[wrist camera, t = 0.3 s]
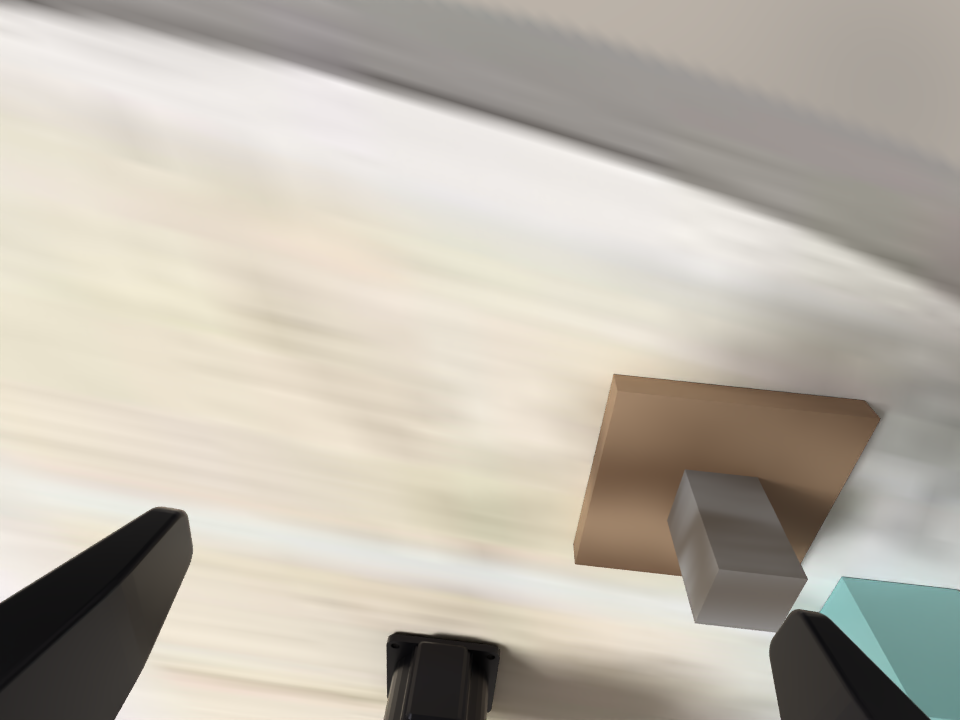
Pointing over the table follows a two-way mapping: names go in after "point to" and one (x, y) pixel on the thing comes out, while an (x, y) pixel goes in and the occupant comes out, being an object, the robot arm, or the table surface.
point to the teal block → (906, 637)
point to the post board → (712, 443)
